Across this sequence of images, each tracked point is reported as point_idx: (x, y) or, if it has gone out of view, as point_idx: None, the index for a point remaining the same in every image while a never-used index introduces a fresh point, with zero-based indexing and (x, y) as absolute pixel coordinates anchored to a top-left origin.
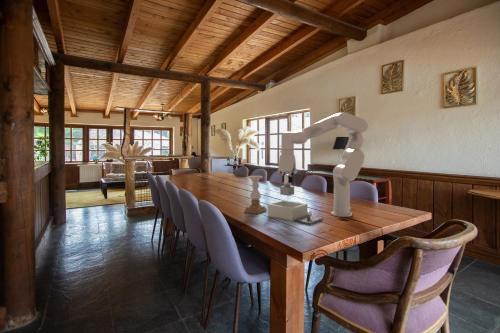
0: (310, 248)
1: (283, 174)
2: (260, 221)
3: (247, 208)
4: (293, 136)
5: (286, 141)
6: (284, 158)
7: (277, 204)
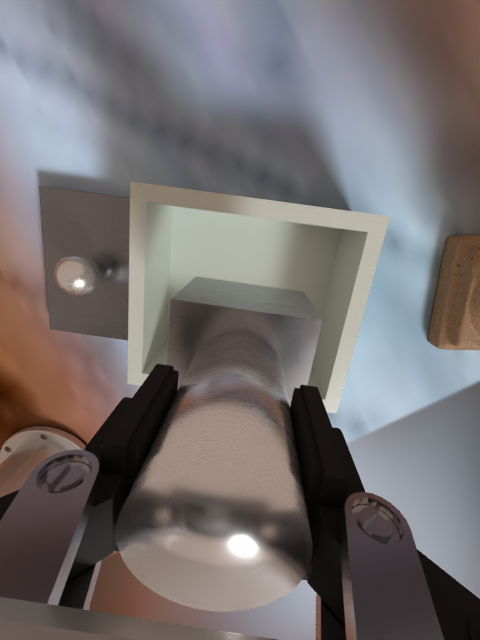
0: None
1: (343, 555)
2: (345, 75)
3: None
4: None
5: None
6: None
7: (340, 317)
